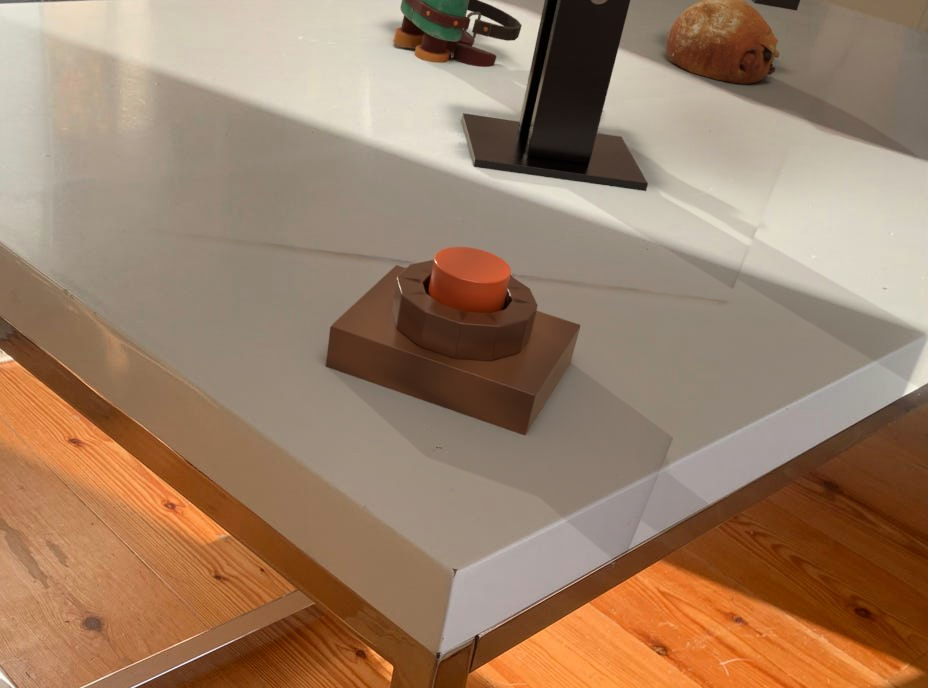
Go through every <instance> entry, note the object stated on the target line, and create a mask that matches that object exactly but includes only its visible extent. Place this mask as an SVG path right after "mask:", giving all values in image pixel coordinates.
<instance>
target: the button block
mask: <svg viewBox="0 0 928 688" xmlns="http://www.w3.org/2000/svg"><path fill="white" fill-rule="evenodd" d="M433 261H434V259H430V260H425V261H420V262H416V263H411V264H409V265H408V266H407V267H404V266H400V265H397V264H395V265H394V266H393V267H392V268H391V269H390V270H389V271H388V272H387V273H386V274H385V275H384V276H383V277H381V278H380V280H378V281H377V282H376V283H375V284H374V285H373V286H372V287H370V288H369V290H368V291H366V292H365V293H364V294H363V295H362V296H361V297H360V298H359V299H358V300H356V301H355V302H354V303H353V304H352V306H350V307H349V308H348V309H347V310H346V311H345V312H344V313H343V314H342V315H340V316H339V317H338V319H336V320H335V321H334V322H333V323H332V324H331V325H330V327H329V334H328V344H327V351H326V359H325V360H326V361H325V367H326V368H329V369H331V370H334V371H337V372H339V373H343V374H346V375H348V376H352V377H355V378H357V379H360V380H364V381H366V382H369V383H372V384H375V385H378V386H380V387H383V388H386V389H389V390H392V391H395V392H398V393H400V394H404V395H406V396H409V397H412V398H415V399H418V400H421V401H424V402H427V403H430V404H431V405H432V404H433V405H435V406H439V407H441V408H443V409H447V410H450V411H452V412H456V413H459V414H462V415H464V416H467V417H469V418H472V419H476V420H479V421H481V422H485V423H487V424H490V425H493V426H496V427H499V428H502V429H505V430H507V431H511V432H514V433H517V434H518V435H523V436H527V434H528V432H529V431H530V429H531V427H532V426H533V424H534V423H535V421H536V419H537V418H538V416H539V414H541V411H542V410H543V408H544V407H545V405H546V403H547V402H548V400H549V398H550V397H551V395H552V394H553V392H554V390H555V389H556V387H557V386H558V384H559V382H560V381H561V379H562V377H563V376H564V374H565V372H566V371H567V369H568V367H569V366H570V364H571V362H572V359H573V355H574V352H575V347H576V344H577V340H578V336H579V333H580V331H581V324H579V323H576V322H573V321H570V320H566V319H565V318H560V317H557V316H555V315H551V314H548V313H545V312H543V311H539V310H538V303H537V301H536V299H535V297H534V294H533V292H532V290H531V288H530V287H528V286H527V285H526V284H524V283H522V282H521V281H519V280H518V279H517V278H515V277H513V276H512V275H510V280H509V284H508V289H507V293H506V298H505V302H504V307H503V308H502V310H501V311H497V312H493V313H476V312H463V311H460V310H457V309H454V308H451V307H448V306H445V305H442V304H440V303H439V302H437V301H436V300H435V299H433V298H432V297H430V296H429V292H428V290H429V284H430V278H431V272H432V267H433Z"/></svg>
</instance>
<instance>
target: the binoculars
mask: <svg viewBox="0 0 928 688" xmlns="http://www.w3.org/2000/svg"><path fill="white" fill-rule="evenodd" d="M400 11H401V14H403V18H402V21H401V27H400V26H399V27H397V28H396V29H395V33H394V38H393V44H394V45H396V46H397V47H400V48H407V49H414V48H415V50H414V54H413V55H414V56H415V57H416V58H418V59H419V60H421V61H424V62H428V63H437V64H440V63H446V62H448V61H449V60H451V61H457V62H461V63H464V64H467V65H469V66H472V67H481V68H490V67H493V66H494V65H495V63H496V59H497V55H496V53H495V54H494V53H493V52H491V51H487V50H484V49H482V48H479V47H476V46H474V43H475V39H476V36H477V35H479V36H483V37H487V38H492V39H496V40H500V41H502V40H503V41H507V42H508V41H510V42H511V41H516V40H517V39H518V38H519V36H520V32H521V30H522V24H521V22H520V21H519V20H518V19H517V18H515V17H514V16H512V15H511V14H509V13H507V12H505V11H504V10H502V9H500V8H498V7H495V6H494V5H492V4H489V3H487V2H484V1H483V0H482V1H481V0H401V3H400ZM468 12H469V13H468ZM471 16H477V18H475V19H474V23H473V27H472V30H471V32H472V33H473V34H471V33H469V32H468V31H467V30H468V29H469V28H470V24H471V20H472V19H471ZM482 17H485V18H487V19H490V20H491V21H494V22H496V24H495V23H491V22H488V21H485V20H482V19H481V18H482ZM452 53H453V54H452ZM452 55H453V56H452Z"/></svg>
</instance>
